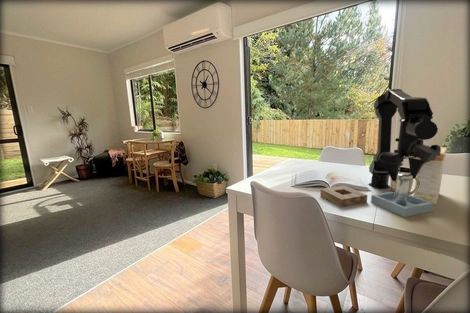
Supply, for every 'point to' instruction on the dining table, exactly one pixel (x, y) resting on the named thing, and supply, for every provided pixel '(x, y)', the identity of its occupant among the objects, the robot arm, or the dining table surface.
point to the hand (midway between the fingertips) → (403, 179)
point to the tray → (412, 207)
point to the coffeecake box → (431, 178)
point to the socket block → (343, 196)
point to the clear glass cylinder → (402, 188)
